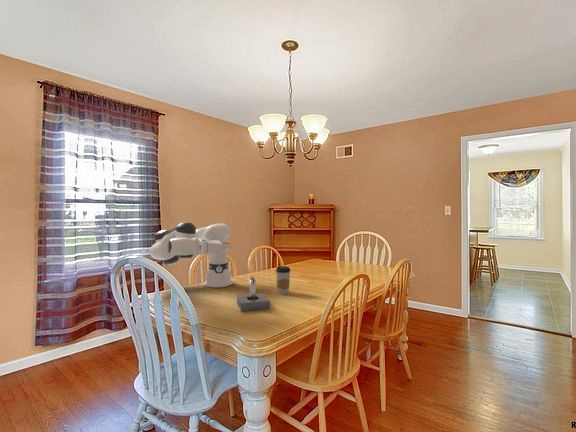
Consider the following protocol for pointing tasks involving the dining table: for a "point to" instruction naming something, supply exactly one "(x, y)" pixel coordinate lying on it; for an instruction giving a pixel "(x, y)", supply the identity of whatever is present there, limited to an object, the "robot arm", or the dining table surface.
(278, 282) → the coffee cup
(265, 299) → the block
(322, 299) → the dining table surface
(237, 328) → the dining table surface
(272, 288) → the dining table surface
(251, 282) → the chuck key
